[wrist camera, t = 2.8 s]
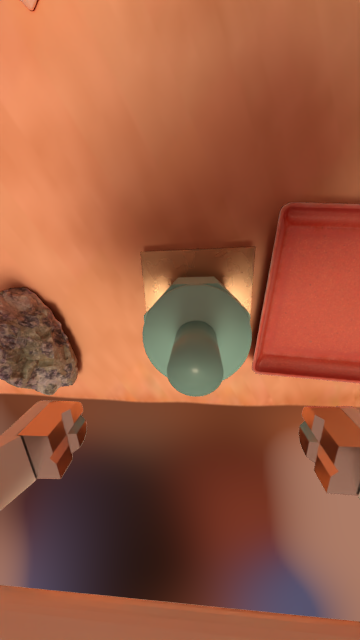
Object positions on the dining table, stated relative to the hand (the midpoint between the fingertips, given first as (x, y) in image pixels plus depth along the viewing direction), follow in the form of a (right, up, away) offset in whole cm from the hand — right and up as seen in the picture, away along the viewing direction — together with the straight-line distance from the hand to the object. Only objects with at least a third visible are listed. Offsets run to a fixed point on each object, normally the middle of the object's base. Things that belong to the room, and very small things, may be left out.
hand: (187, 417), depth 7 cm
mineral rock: (-19, +2, +21) cm, 28 cm away
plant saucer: (+18, +6, +16) cm, 25 cm away
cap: (+1, +4, +11) cm, 12 cm away
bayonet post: (+2, +6, +17) cm, 18 cm away
